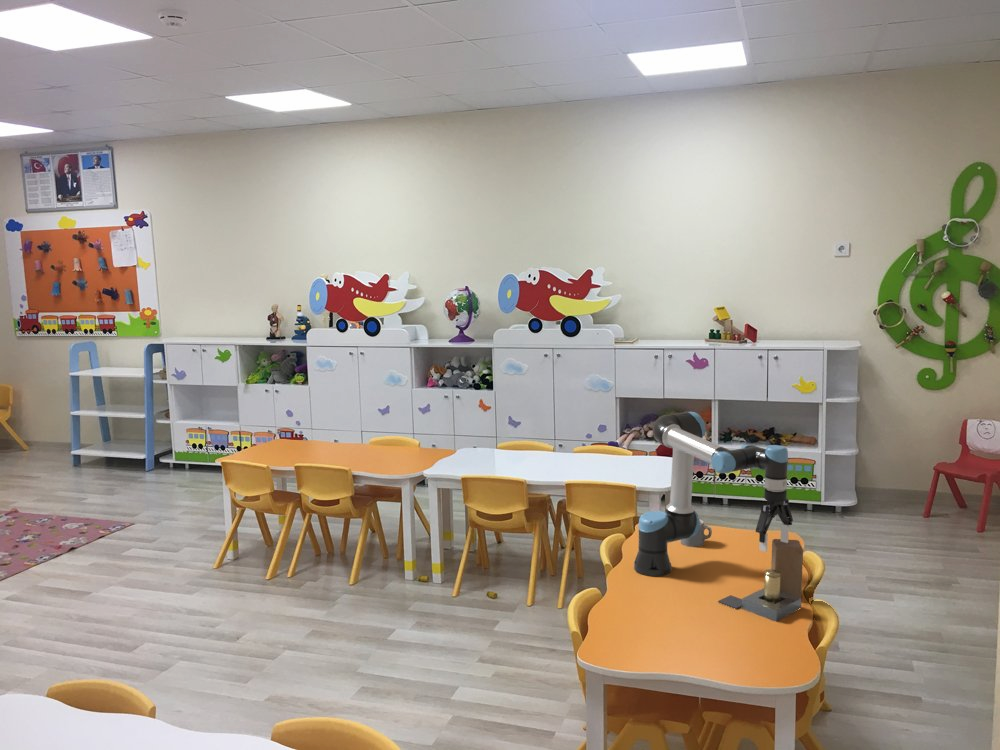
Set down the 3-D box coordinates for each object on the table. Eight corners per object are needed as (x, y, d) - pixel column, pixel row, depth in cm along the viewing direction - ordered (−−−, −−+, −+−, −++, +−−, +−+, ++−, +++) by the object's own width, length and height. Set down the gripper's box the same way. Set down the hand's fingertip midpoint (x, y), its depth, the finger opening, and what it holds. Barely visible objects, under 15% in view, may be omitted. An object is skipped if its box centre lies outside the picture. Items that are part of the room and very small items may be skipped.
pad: (717, 602, 302) (717, 600, 302) (730, 596, 307) (730, 595, 307) (736, 609, 296) (736, 607, 296) (749, 603, 301) (749, 601, 301)
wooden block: (801, 599, 304) (803, 548, 301) (773, 597, 306) (775, 546, 303) (797, 589, 313) (799, 539, 310) (770, 587, 315) (771, 537, 312)
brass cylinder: (760, 608, 297) (761, 571, 295) (768, 604, 300) (770, 568, 298) (773, 613, 293) (775, 576, 291) (782, 609, 296) (783, 572, 294)
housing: (741, 608, 297) (742, 598, 296) (766, 596, 307) (767, 586, 306) (776, 621, 286) (776, 610, 285) (800, 608, 296) (801, 598, 295)
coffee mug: (678, 545, 362) (679, 523, 361) (682, 538, 371) (683, 517, 370) (709, 549, 357) (710, 527, 356) (712, 541, 366) (713, 520, 365)
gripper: (765, 498, 279) (763, 557, 282) (804, 484, 295) (802, 540, 298) (746, 493, 285) (744, 551, 288) (785, 480, 301) (783, 535, 304)
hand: (773, 546), depth 293 cm, fingers open, 13 cm apart
